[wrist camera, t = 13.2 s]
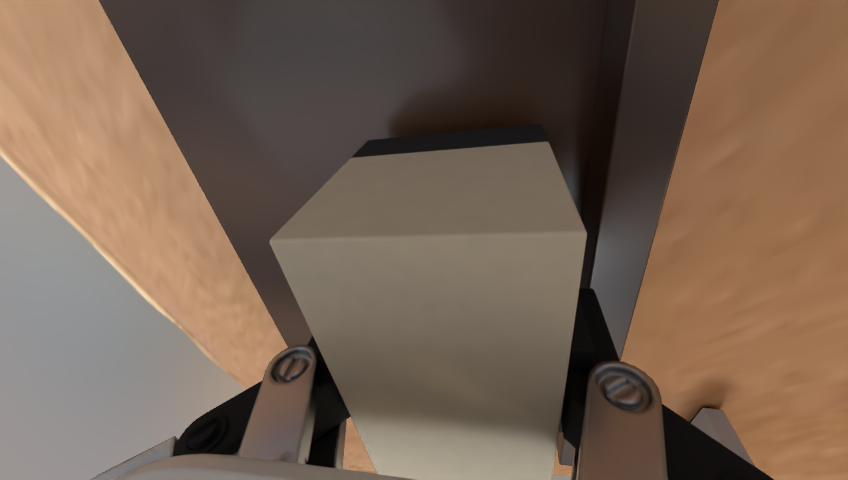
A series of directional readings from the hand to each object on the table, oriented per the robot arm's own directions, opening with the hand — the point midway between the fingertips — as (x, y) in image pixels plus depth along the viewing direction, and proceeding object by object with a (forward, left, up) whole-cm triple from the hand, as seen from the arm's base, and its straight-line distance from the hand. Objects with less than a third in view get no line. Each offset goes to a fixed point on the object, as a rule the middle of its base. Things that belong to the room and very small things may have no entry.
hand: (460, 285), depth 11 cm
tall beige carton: (0, 0, -1) cm, 1 cm away
